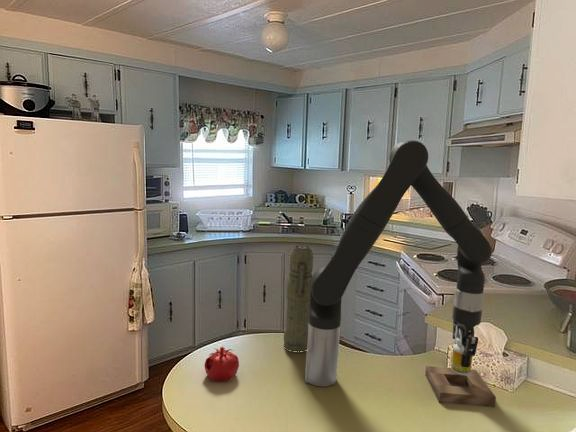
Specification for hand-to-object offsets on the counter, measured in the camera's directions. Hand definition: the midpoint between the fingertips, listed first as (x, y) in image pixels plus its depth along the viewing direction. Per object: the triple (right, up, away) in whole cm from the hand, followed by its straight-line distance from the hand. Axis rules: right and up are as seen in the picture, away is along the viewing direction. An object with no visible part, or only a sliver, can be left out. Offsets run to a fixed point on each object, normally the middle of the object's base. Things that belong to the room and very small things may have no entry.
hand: (461, 361), depth 126 cm
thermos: (-47, -3, +24) cm, 53 cm away
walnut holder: (-1, -9, +1) cm, 9 cm away
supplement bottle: (0, -3, +1) cm, 3 cm away
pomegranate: (-69, -5, +2) cm, 70 cm away
